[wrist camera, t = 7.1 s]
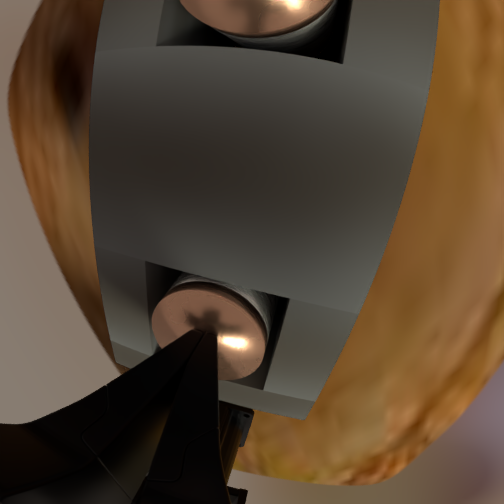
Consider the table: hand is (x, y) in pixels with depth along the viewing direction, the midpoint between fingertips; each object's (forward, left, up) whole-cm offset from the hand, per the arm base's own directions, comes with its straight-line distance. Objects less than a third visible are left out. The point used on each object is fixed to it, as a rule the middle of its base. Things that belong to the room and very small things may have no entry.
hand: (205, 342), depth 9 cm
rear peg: (0, 0, -6) cm, 6 cm away
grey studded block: (+5, 0, -6) cm, 8 cm away
